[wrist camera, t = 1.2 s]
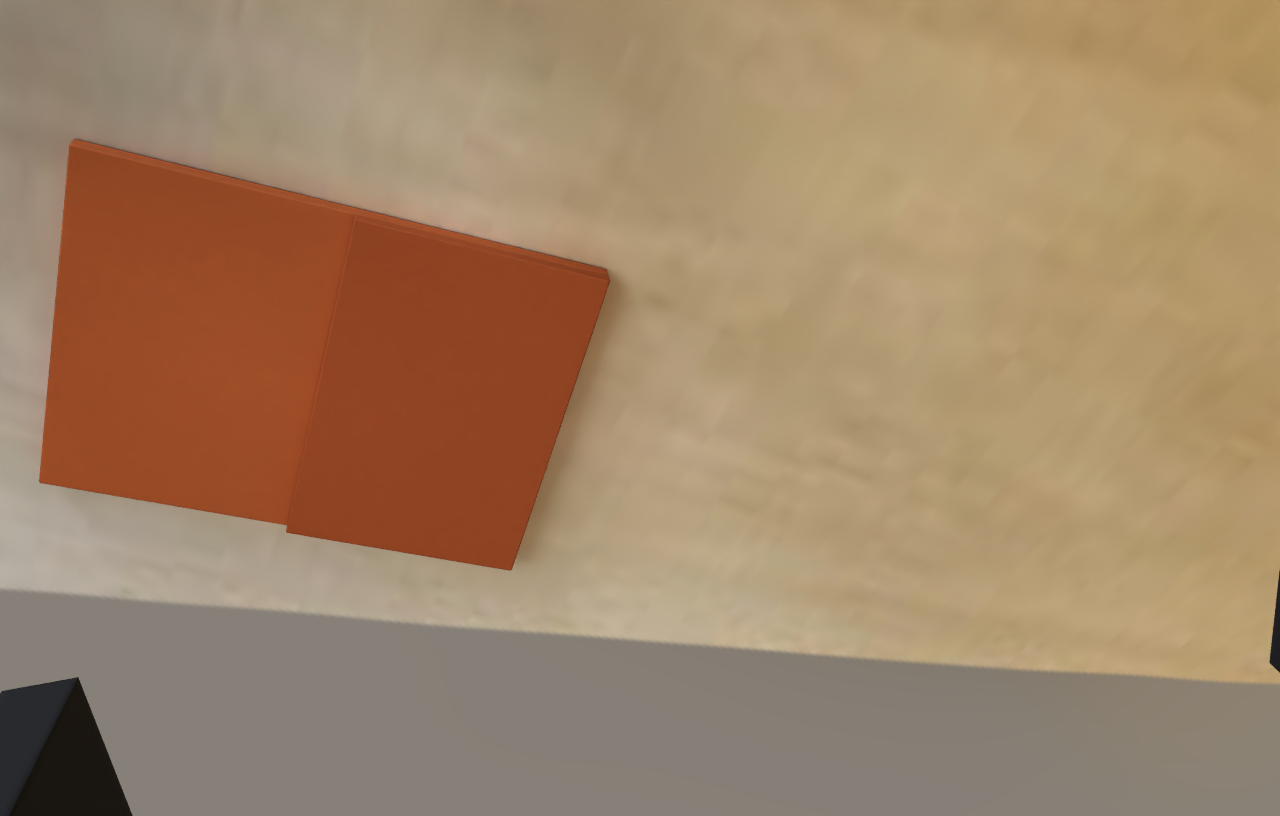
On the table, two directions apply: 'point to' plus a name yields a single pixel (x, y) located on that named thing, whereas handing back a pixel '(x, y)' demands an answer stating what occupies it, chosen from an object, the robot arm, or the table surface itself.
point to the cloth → (305, 360)
